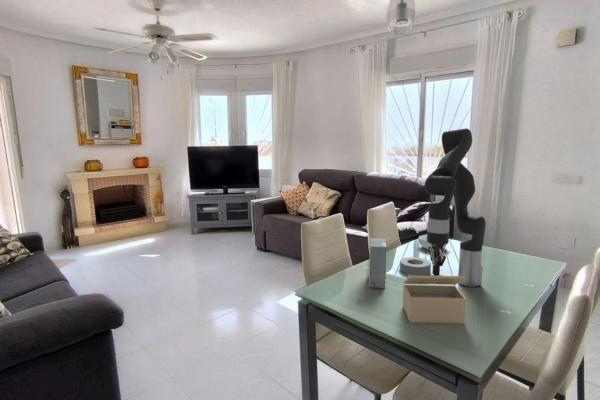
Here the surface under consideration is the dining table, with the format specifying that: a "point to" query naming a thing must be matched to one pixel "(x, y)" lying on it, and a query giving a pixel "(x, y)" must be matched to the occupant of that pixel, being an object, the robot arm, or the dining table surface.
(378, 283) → the hard drive box
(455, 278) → the lid
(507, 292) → the dining table surface
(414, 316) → the carton
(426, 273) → the tape roll
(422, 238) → the cereal bowl
